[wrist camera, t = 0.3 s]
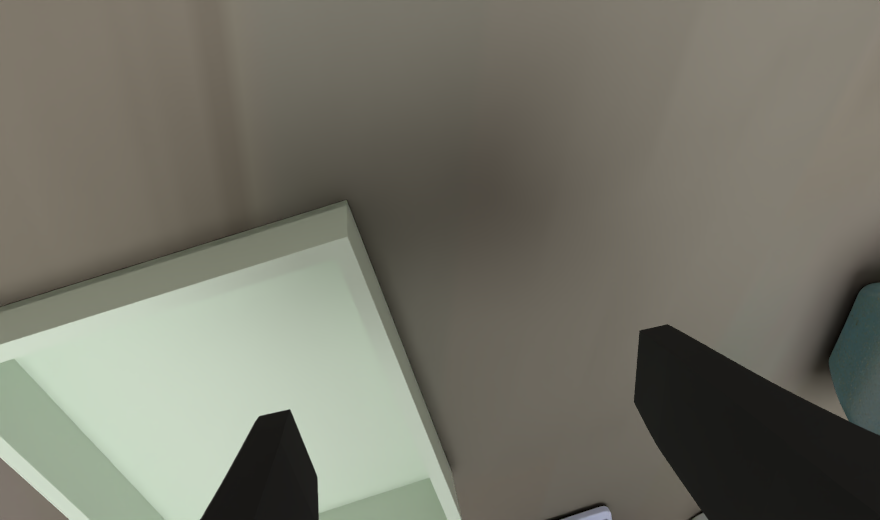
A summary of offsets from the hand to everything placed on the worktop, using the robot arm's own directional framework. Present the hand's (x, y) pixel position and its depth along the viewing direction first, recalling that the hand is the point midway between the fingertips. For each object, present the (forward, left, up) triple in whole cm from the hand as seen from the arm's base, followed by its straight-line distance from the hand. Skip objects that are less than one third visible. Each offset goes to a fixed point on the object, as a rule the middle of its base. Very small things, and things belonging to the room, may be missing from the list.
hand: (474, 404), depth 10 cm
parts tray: (-7, +9, -10) cm, 15 cm away
